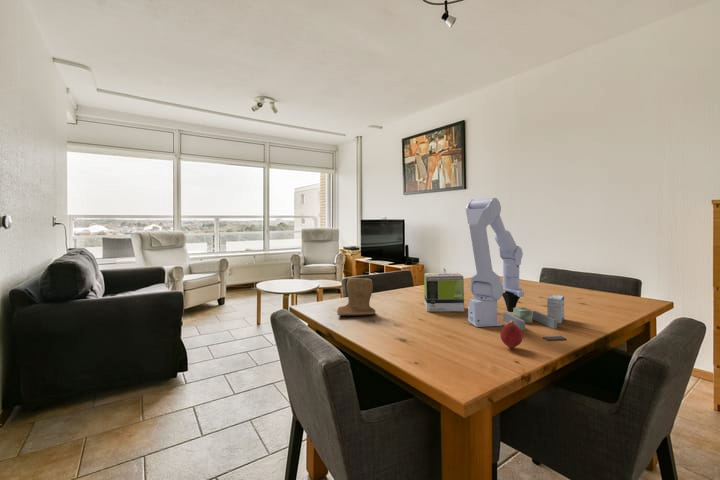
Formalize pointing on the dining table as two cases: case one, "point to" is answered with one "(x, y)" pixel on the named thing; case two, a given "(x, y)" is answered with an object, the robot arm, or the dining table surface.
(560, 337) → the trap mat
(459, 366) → the dining table surface
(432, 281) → the tea box
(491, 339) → the dining table surface
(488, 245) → the robot arm
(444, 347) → the dining table surface
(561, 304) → the medicine box
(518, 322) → the tunnel
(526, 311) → the green block
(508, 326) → the onion
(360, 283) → the brown flared block
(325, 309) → the dining table surface
